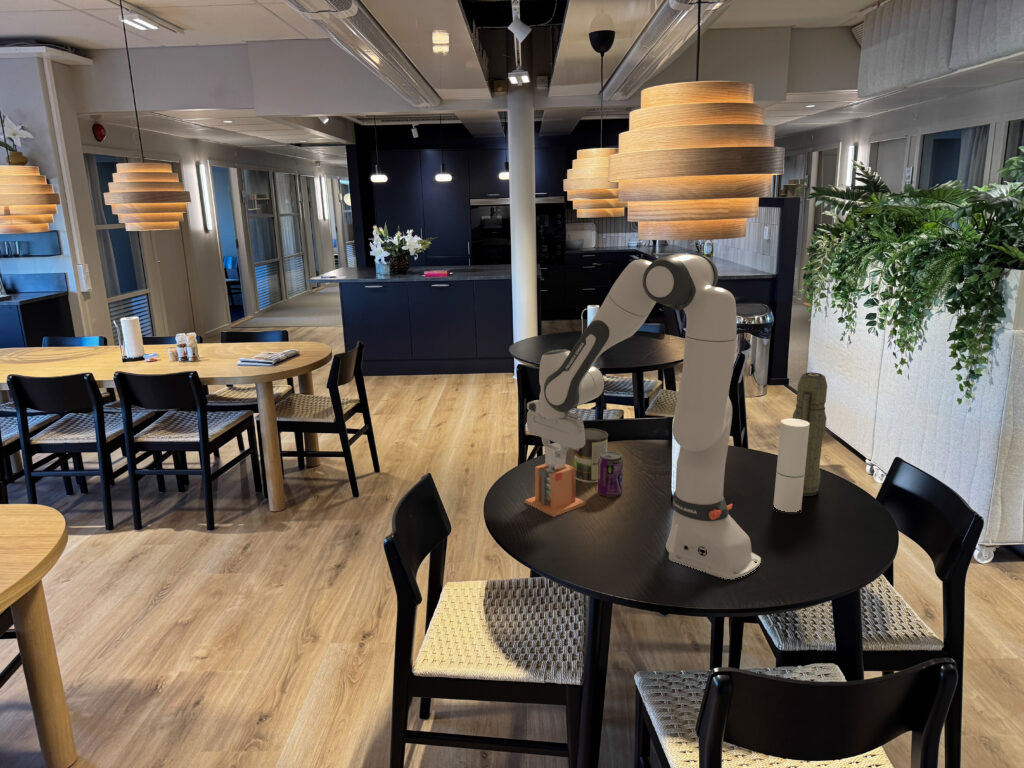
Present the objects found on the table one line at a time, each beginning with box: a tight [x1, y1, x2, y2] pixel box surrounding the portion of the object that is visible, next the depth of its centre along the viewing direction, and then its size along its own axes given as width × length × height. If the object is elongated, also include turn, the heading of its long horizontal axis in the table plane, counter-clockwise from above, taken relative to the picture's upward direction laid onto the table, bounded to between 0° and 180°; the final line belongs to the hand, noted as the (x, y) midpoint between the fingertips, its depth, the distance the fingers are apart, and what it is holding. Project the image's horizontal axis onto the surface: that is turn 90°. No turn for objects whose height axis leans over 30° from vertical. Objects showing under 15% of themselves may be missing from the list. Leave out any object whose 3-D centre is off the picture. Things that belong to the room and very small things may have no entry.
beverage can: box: [597, 450, 624, 498], centre depth 205 cm, size 7×7×12 cm
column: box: [544, 442, 567, 502], centre depth 198 cm, size 4×5×16 cm
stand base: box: [524, 463, 586, 518], centre depth 199 cm, size 12×12×11 cm
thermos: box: [791, 372, 828, 493], centre depth 203 cm, size 9×12×35 cm
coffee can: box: [573, 427, 609, 484], centre depth 218 cm, size 10×10×14 cm
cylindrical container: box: [773, 417, 810, 512], centre depth 192 cm, size 7×7×25 cm
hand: (555, 455), depth 197 cm, fingers closed on column, 4 cm apart
